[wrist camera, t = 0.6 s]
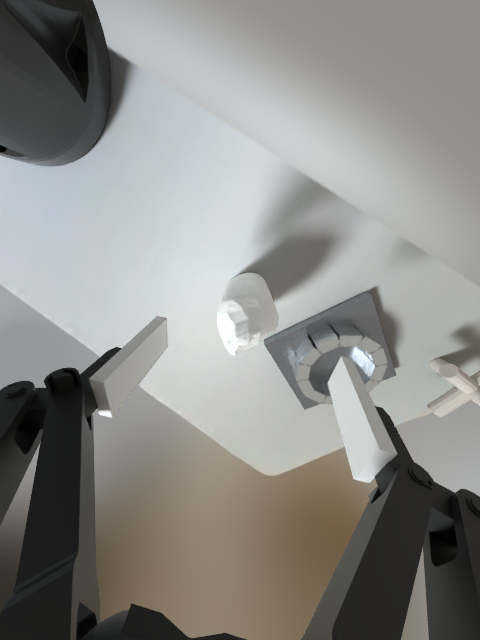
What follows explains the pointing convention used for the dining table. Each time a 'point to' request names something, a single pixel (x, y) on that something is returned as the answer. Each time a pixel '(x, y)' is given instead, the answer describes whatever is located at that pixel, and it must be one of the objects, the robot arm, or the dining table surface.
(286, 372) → the collar
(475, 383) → the pipe connector
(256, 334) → the white faceted pointed piece
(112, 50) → the dining table surface
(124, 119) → the dining table surface
